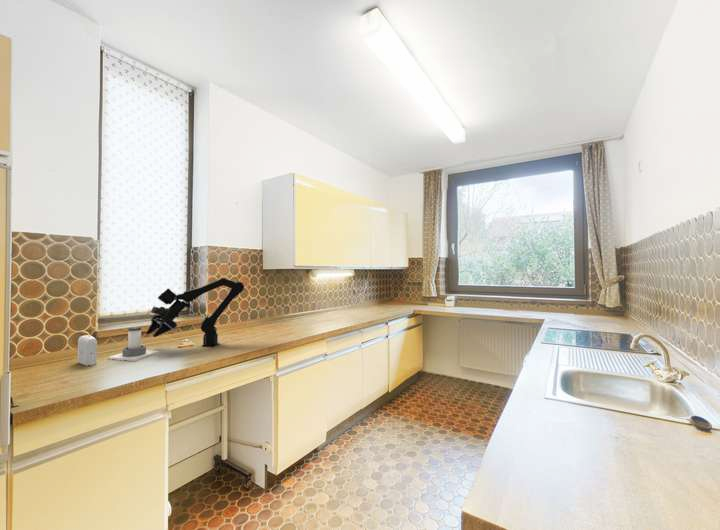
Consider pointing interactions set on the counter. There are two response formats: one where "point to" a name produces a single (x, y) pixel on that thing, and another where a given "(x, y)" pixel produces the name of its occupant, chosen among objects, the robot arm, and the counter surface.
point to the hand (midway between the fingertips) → (150, 335)
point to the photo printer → (87, 350)
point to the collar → (133, 354)
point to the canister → (134, 338)
